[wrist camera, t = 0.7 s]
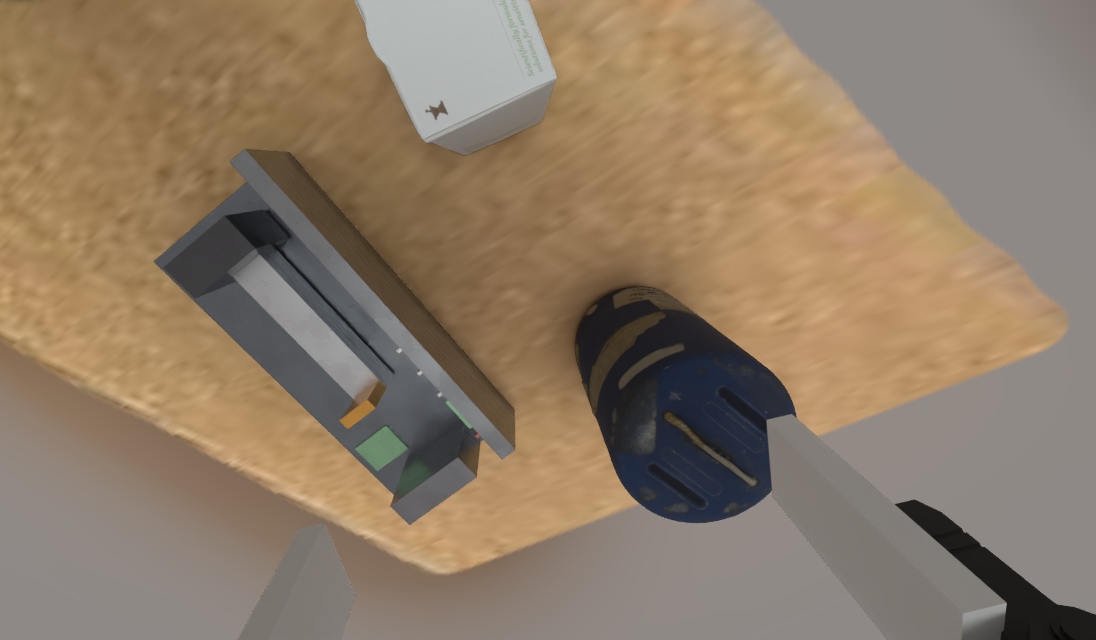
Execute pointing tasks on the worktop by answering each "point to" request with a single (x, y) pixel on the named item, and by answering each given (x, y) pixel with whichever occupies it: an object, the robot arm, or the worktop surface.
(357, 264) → the rail
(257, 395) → the worktop surface
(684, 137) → the worktop surface
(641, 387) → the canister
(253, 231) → the capped sliding bar
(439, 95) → the skincare box
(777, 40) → the worktop surface
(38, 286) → the worktop surface
